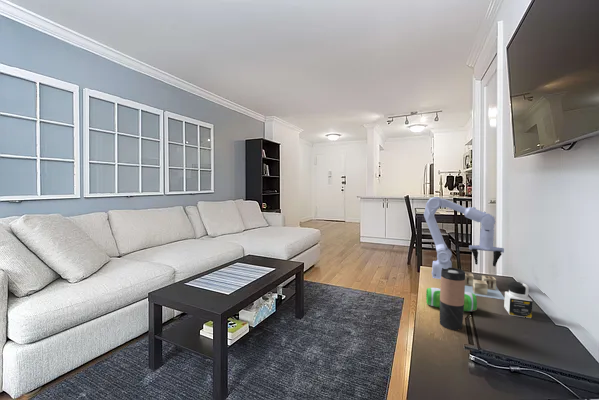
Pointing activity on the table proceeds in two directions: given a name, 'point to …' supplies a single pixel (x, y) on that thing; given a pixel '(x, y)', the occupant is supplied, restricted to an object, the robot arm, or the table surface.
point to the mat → (490, 293)
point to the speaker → (434, 299)
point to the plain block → (480, 287)
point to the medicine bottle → (518, 300)
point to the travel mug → (452, 298)
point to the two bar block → (490, 282)
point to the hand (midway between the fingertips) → (485, 265)
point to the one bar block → (469, 279)
